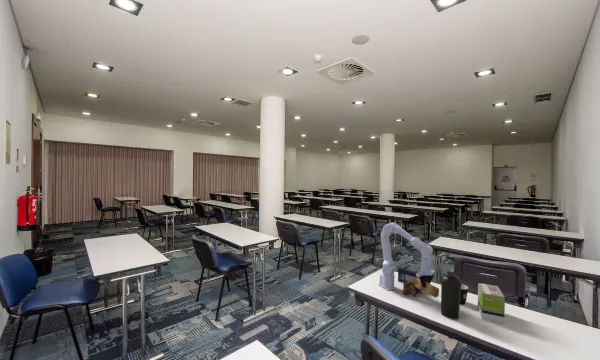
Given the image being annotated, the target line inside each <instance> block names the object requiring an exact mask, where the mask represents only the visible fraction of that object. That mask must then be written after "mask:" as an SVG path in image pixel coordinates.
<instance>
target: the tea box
mask: <svg viewBox="0 0 600 360" xmlns="http://www.w3.org/2000/svg"><path fill="white" fill-rule="evenodd" d="M503 293H504V292H502V290H501V289H500V287H499V286H498V285H495V284H494V285H493V284H489V283H488V284H487V283H480V282H478V283H477V309H478V311H479V314H480V317H481V319H482V320H485V321H489V322H494V323H497V324H505V309H506V308H505V307H506V306H505V305H506V304H505V303H506V297H505V295H504V294H503Z"/></svg>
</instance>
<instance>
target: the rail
mask: <svg viewBox="0 0 600 360" xmlns="http://www.w3.org/2000/svg"><path fill="white" fill-rule="evenodd" d="M413 286H415V287H417V288H418V289H420V290H422V291H423V293H426V294H428V295H430V296H432V297H433V298H439V295H440V288H439V287H437V286H435V285H433V284H431V283H430V284H429V283H427V282H426V287H425V288H424V287H422V285H421V281H420V279H419V278H417V277H416V278H414V280H413Z"/></svg>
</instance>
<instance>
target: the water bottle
mask: <svg viewBox="0 0 600 360" xmlns="http://www.w3.org/2000/svg"><path fill="white" fill-rule="evenodd" d="M462 284H463V281H462V279H461V278H460V277H458V276H457V275H456V272H453V271H446V273H445V274H443V275H442V276H440V286H441V289H440V290H441V291H440V299H441V300H440V301H441V303H440V304H441V306H440V308H441V309H440V310H441V312H440V314H441V315H442V316H443V317H445V318H447V319H450V320H458V319H459V318H460V308H461V307H460V306H461V305H460V294H461V286H462Z"/></svg>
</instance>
